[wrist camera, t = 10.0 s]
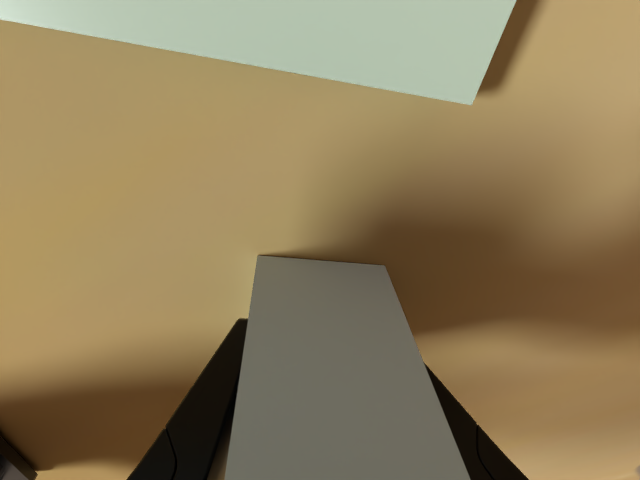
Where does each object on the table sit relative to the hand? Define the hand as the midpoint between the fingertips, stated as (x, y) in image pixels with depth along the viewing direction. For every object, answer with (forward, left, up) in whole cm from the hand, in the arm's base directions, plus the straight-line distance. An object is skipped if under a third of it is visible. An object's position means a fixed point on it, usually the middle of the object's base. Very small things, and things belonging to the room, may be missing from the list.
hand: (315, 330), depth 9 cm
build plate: (+13, +4, -1) cm, 14 cm away
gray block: (0, 0, -1) cm, 1 cm away
